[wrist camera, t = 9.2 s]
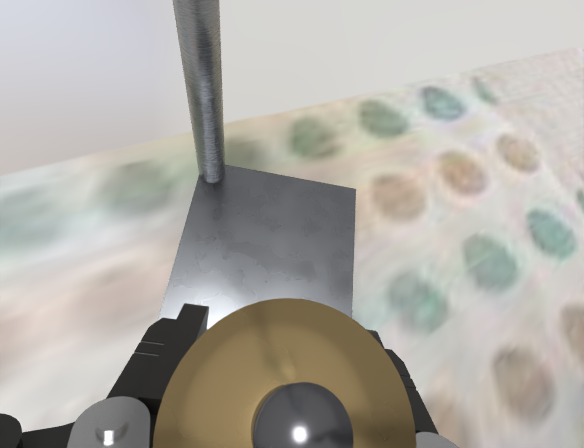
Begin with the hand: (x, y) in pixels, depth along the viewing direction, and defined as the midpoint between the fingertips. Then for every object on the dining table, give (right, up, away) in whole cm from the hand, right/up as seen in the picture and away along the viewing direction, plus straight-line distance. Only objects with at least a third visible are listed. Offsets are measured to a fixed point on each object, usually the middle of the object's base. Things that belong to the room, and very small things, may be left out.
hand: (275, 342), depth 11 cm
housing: (-1, -4, +3) cm, 5 cm away
